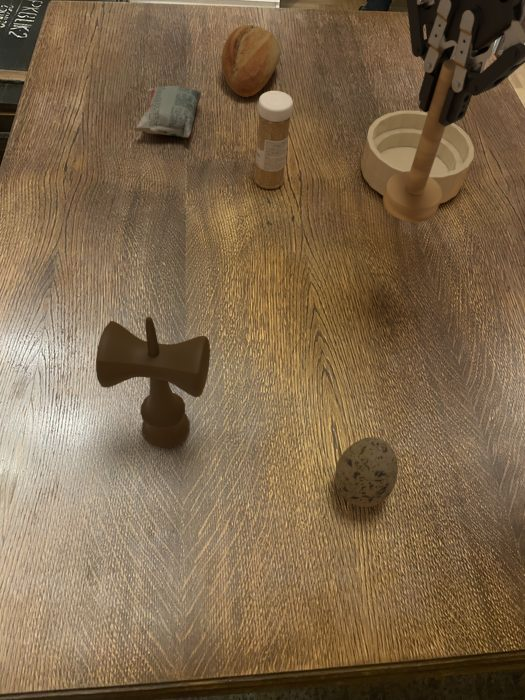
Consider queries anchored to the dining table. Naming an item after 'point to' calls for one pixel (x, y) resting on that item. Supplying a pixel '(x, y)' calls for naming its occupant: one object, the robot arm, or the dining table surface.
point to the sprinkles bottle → (272, 138)
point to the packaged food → (170, 111)
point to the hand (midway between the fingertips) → (438, 114)
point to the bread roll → (249, 59)
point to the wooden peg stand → (421, 163)
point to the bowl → (414, 152)
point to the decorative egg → (367, 472)
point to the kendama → (155, 377)
